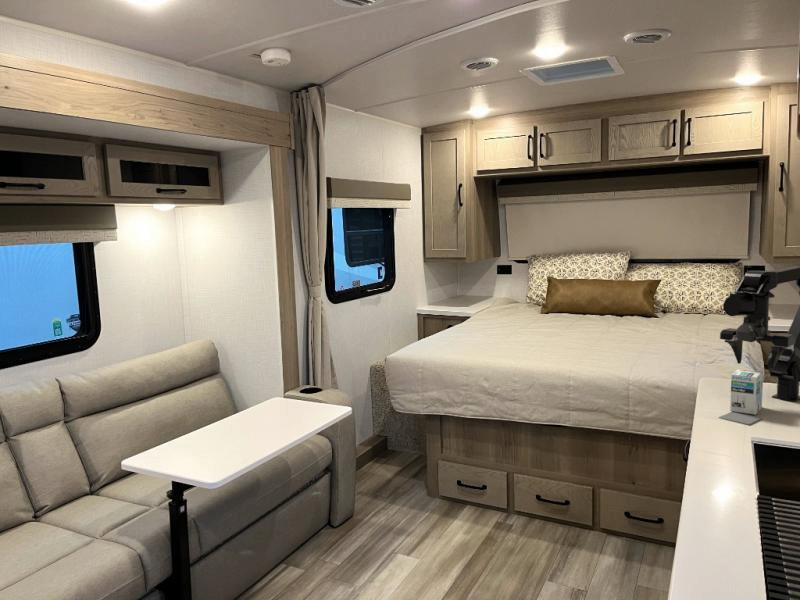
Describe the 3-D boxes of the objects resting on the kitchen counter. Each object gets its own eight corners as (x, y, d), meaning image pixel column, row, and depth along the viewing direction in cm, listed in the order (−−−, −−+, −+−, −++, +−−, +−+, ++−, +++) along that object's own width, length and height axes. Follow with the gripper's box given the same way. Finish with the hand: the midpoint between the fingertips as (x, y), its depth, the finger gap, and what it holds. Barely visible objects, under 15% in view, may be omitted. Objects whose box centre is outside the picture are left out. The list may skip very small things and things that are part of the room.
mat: (732, 412, 173) (732, 411, 173) (762, 419, 167) (762, 417, 167) (718, 418, 168) (718, 417, 168) (748, 425, 162) (748, 423, 162)
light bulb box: (756, 415, 169) (757, 377, 168) (729, 411, 173) (730, 374, 172) (762, 407, 177) (764, 371, 176) (736, 404, 181) (737, 368, 180)
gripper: (711, 313, 180) (710, 365, 182) (780, 319, 165) (778, 375, 167) (729, 309, 186) (728, 359, 188) (797, 315, 172) (795, 369, 173)
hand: (755, 365), depth 179 cm, fingers open, 9 cm apart
